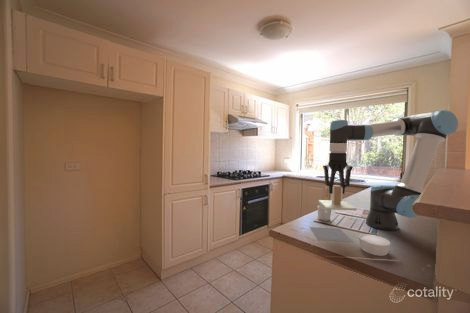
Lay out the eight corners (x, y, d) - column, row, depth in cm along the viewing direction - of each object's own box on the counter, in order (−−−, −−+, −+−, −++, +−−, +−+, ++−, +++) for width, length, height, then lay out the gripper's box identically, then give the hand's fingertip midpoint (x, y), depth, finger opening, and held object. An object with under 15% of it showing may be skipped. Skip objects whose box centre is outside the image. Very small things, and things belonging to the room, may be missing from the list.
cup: (333, 224, 120) (334, 210, 120) (319, 223, 122) (319, 209, 122) (329, 218, 131) (329, 205, 131) (315, 217, 133) (316, 204, 132)
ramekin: (356, 243, 97) (357, 232, 97) (385, 247, 93) (386, 236, 93) (360, 254, 87) (361, 242, 87) (393, 260, 83) (393, 247, 83)
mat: (339, 229, 113) (340, 228, 113) (353, 243, 97) (353, 242, 97) (309, 227, 115) (309, 227, 115) (317, 241, 99) (317, 240, 99)
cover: (345, 202, 109) (345, 183, 108) (356, 210, 96) (357, 188, 95) (318, 201, 110) (319, 182, 110) (326, 209, 97) (326, 187, 97)
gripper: (352, 152, 104) (350, 198, 105) (318, 151, 106) (317, 197, 108) (359, 152, 97) (357, 202, 98) (322, 152, 99) (321, 201, 100)
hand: (336, 200), depth 103 cm, fingers closed on cover, 3 cm apart
